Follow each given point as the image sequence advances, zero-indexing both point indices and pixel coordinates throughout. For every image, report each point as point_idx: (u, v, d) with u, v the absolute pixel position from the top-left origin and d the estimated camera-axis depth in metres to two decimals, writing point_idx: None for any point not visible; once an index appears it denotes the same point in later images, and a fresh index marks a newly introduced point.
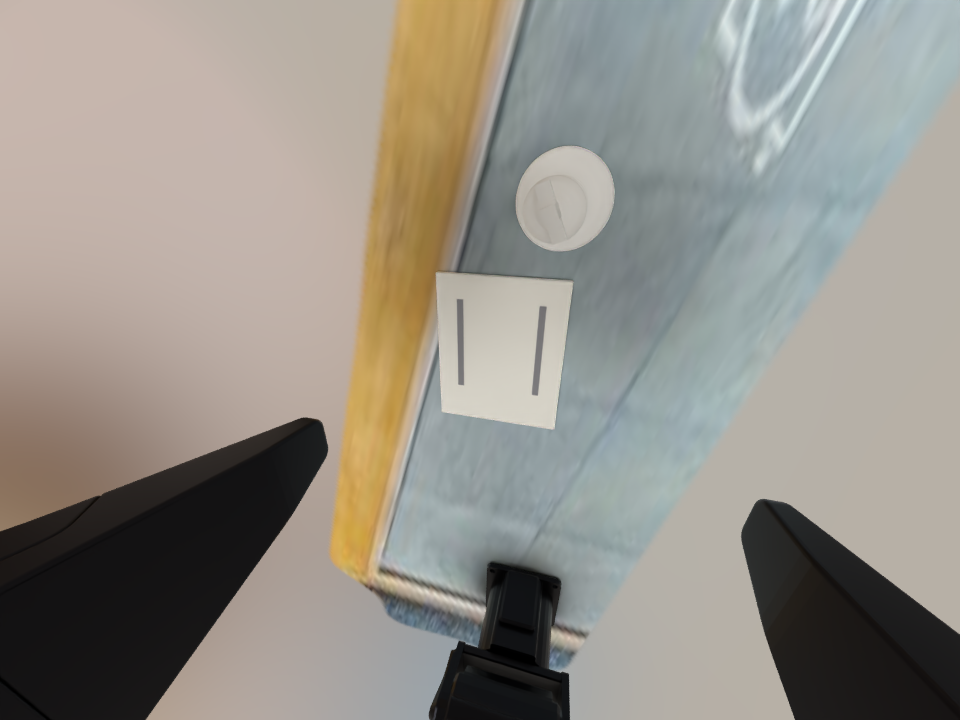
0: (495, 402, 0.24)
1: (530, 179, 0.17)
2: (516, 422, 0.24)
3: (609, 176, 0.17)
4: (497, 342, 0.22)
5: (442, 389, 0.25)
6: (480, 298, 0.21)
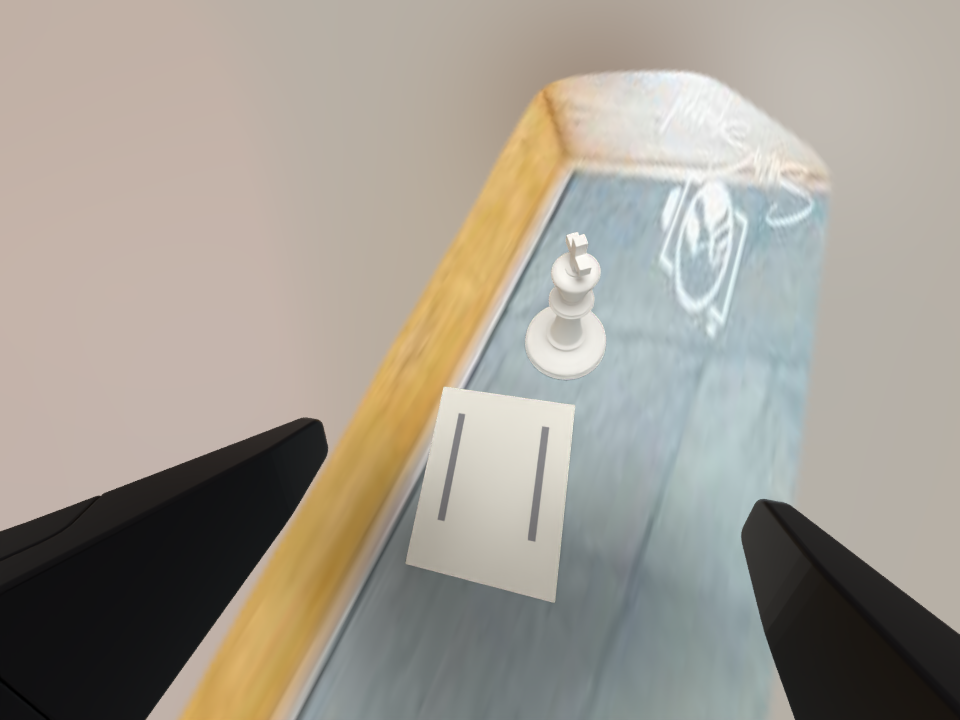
0: (480, 550, 0.19)
1: (539, 319, 0.22)
2: (504, 587, 0.18)
3: (601, 323, 0.21)
4: (493, 465, 0.20)
5: (415, 526, 0.20)
6: (483, 414, 0.21)
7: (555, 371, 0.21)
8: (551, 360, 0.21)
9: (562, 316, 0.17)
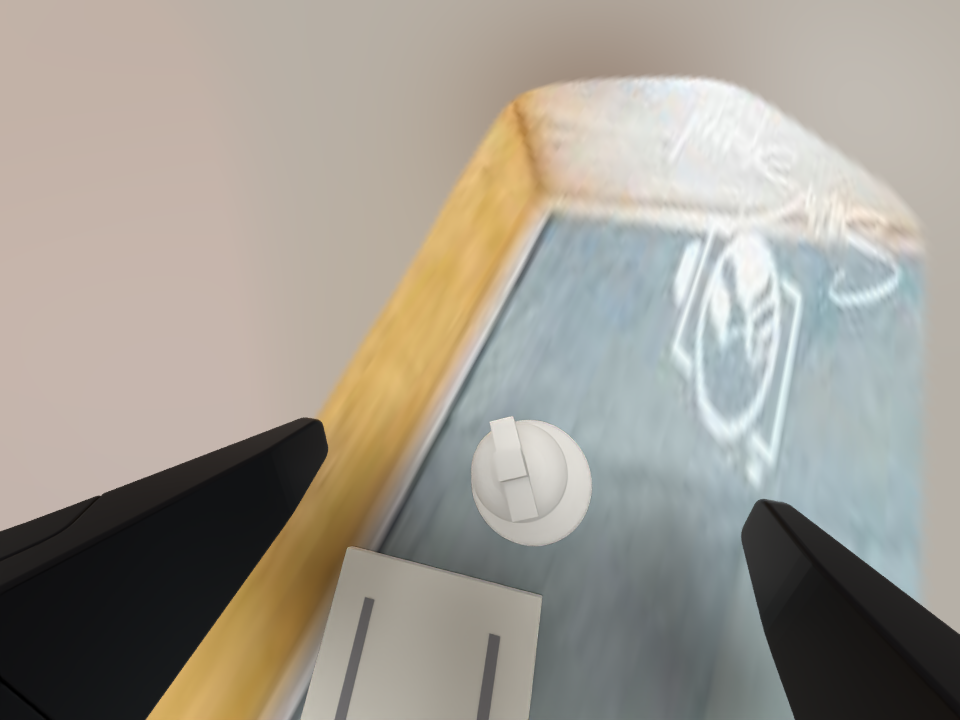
0: None
1: None
2: None
3: (584, 458, 0.14)
4: (411, 700, 0.12)
5: None
6: (400, 602, 0.14)
7: (512, 538, 0.13)
8: (506, 520, 0.13)
9: None
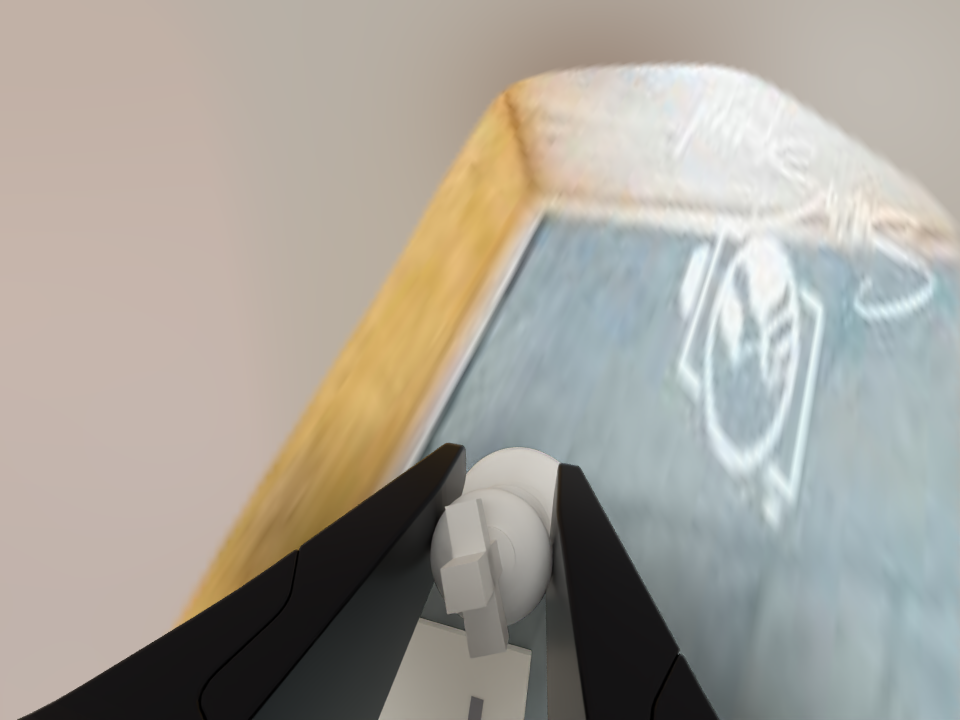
0: None
1: (476, 478, 0.13)
2: None
3: None
4: None
5: None
6: None
7: None
8: None
9: None
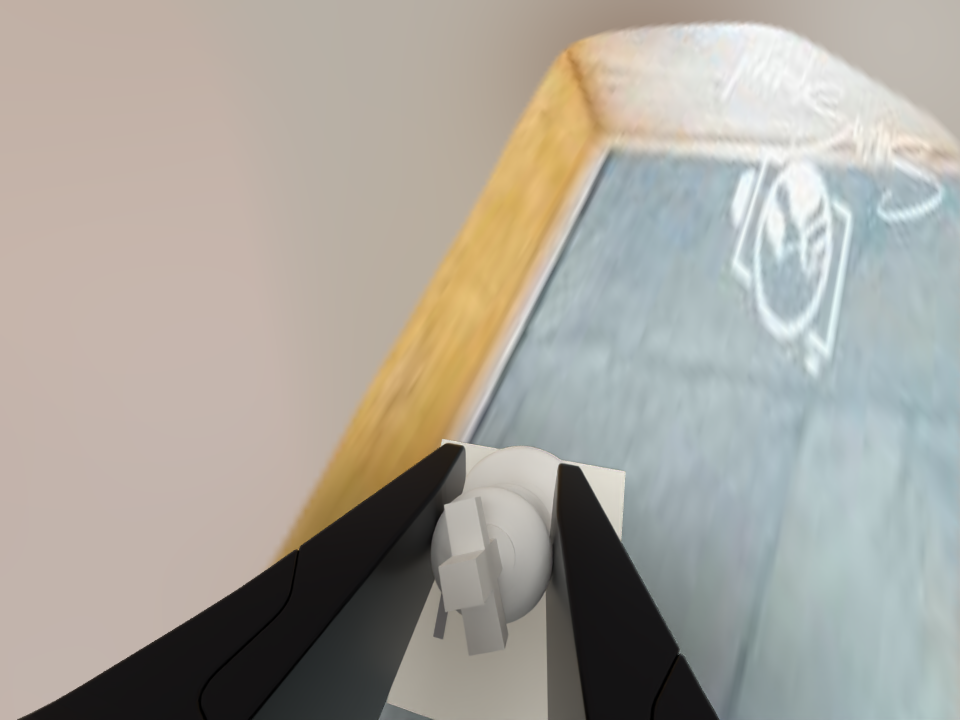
0: (494, 688, 0.13)
1: (479, 477, 0.13)
2: None
3: None
4: None
5: None
6: None
7: None
8: None
9: None
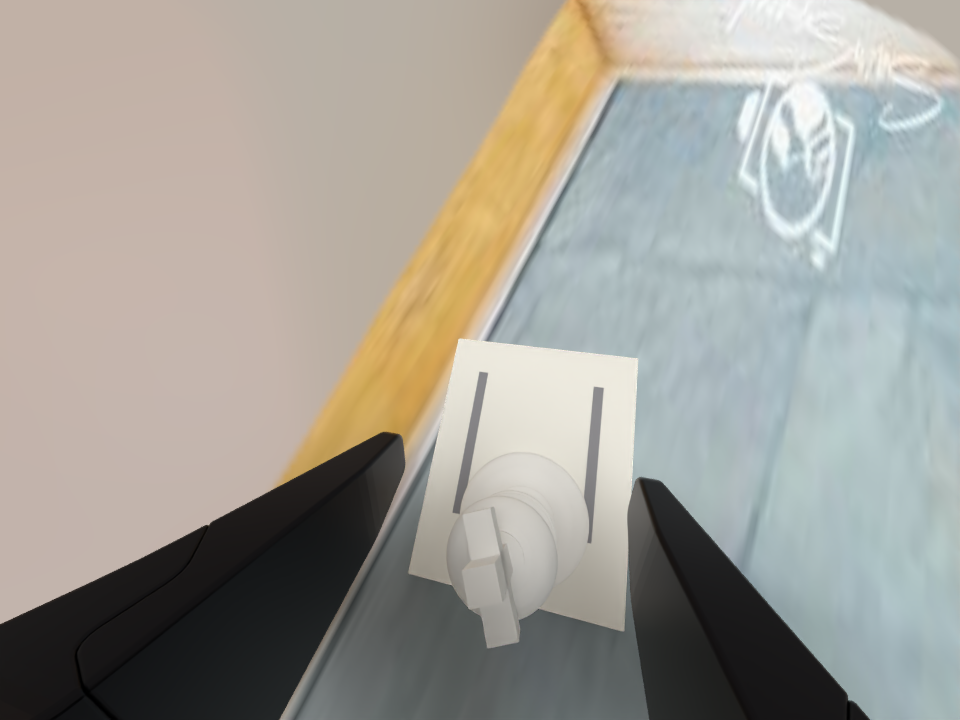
0: None
1: (482, 482, 0.13)
2: (549, 607, 0.13)
3: (581, 497, 0.13)
4: (528, 438, 0.15)
5: (422, 521, 0.14)
6: (512, 372, 0.16)
7: None
8: None
9: None
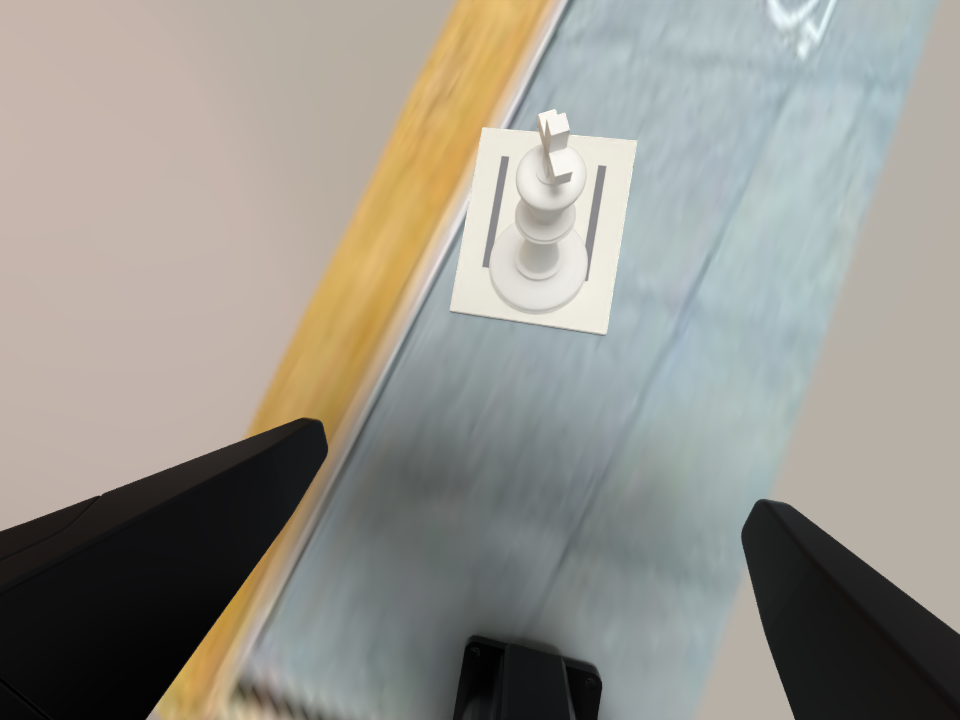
0: None
1: (507, 236, 0.17)
2: (555, 323, 0.18)
3: (583, 244, 0.17)
4: None
5: (458, 275, 0.18)
6: None
7: (523, 305, 0.17)
8: (519, 291, 0.17)
9: (531, 240, 0.12)
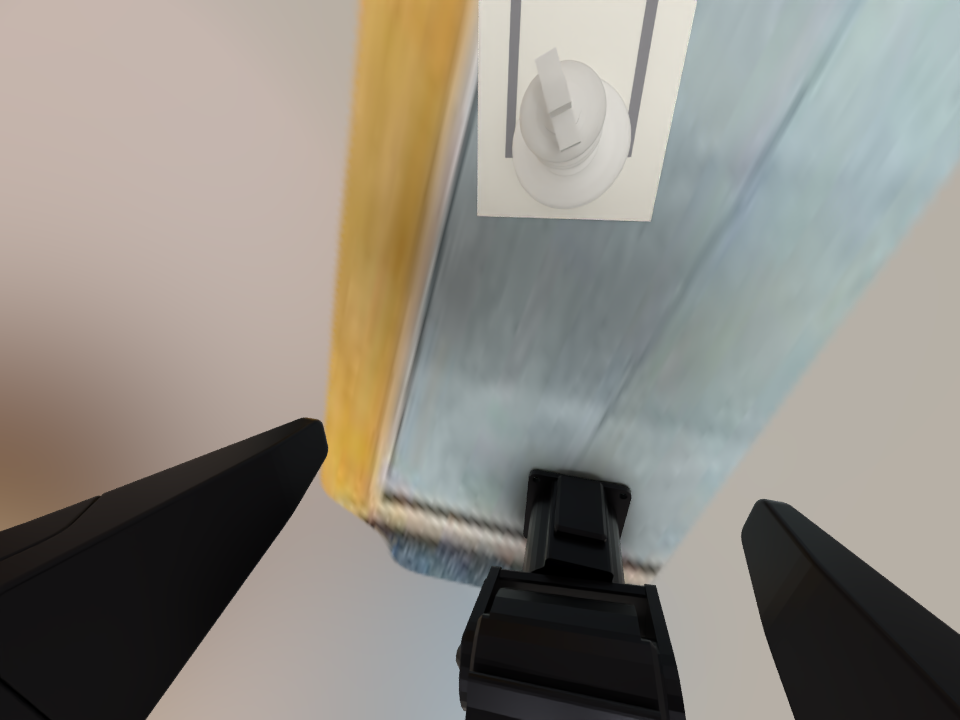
0: None
1: None
2: (592, 216, 0.16)
3: (625, 110, 0.14)
4: (573, 58, 0.14)
5: (480, 172, 0.17)
6: None
7: (555, 204, 0.16)
8: (549, 189, 0.15)
9: (550, 166, 0.11)
